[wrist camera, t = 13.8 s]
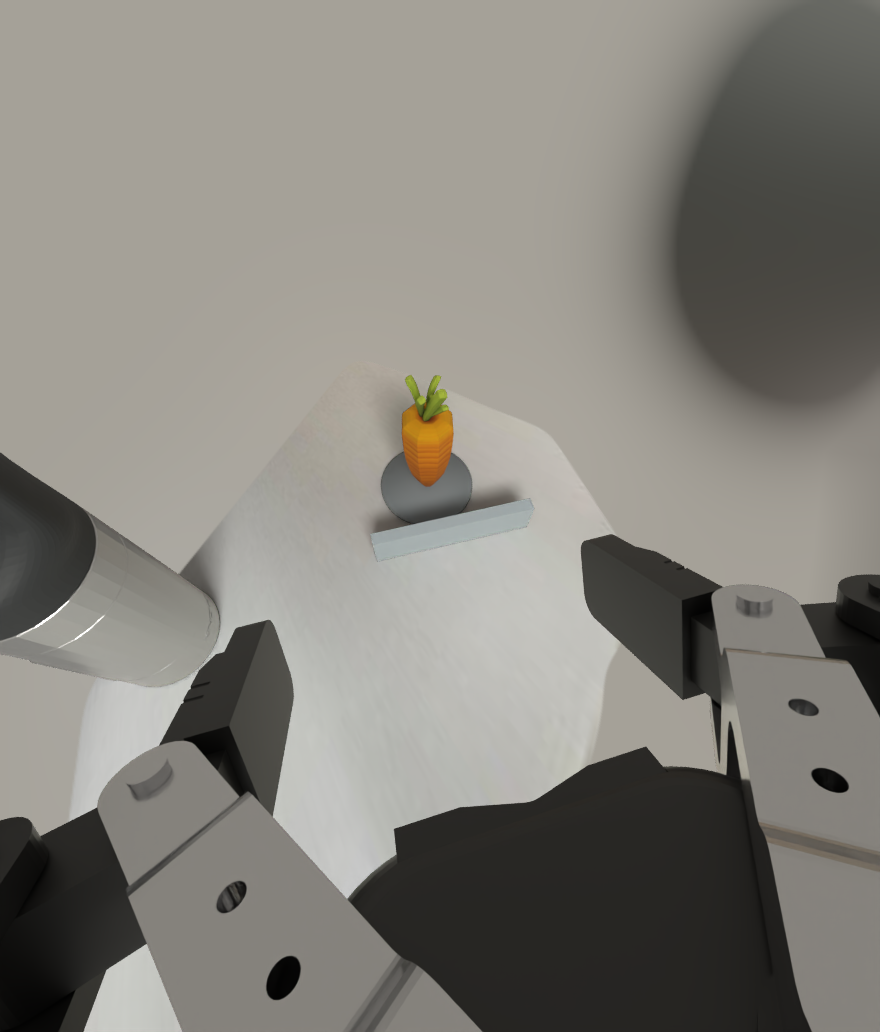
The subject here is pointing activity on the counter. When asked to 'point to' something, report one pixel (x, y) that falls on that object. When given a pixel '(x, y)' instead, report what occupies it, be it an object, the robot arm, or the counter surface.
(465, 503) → the rest mat
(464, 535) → the low wall
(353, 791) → the counter surface
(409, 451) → the carrot
